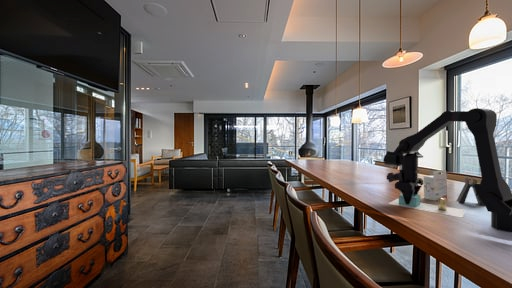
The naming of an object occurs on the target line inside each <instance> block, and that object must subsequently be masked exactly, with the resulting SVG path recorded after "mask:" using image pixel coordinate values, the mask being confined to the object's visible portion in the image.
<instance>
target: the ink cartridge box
mask: <svg viewBox="0 0 512 288" xmlns="http://www.w3.org/2000/svg"><path fill="white" fill-rule="evenodd" d="M432 173H433V175H423V199H427V200H430V201H438V198H445V199H446V201H447V200H448V176H447V170H446V169H444V170H433V171H432Z"/></svg>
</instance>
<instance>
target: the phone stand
mask: <svg viewBox="0 0 512 288" xmlns="http://www.w3.org/2000/svg"><path fill="white" fill-rule="evenodd" d="M471 180H472V182H469V181H471ZM475 183H478V181H477V180H476V179H475V178H473V177H469V176H466V177H465V178H464V185H463V187H462V189H461V191H460V193H459V195H458V197H457V199H456V202H457V203H458V204H466V203H467V204H469V202H467V201H466V199H467V198H468V194H469V192H470V189H471V188H472V190H473V193H474V196H475V199H476V201H477V203H475V202H471V204H472V205H479V206H481V207H483V206H484V207H486V206H485V204H484V203H483V202H481V201H480V199H479V196H476V193H477V192H476V188H475Z"/></svg>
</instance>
